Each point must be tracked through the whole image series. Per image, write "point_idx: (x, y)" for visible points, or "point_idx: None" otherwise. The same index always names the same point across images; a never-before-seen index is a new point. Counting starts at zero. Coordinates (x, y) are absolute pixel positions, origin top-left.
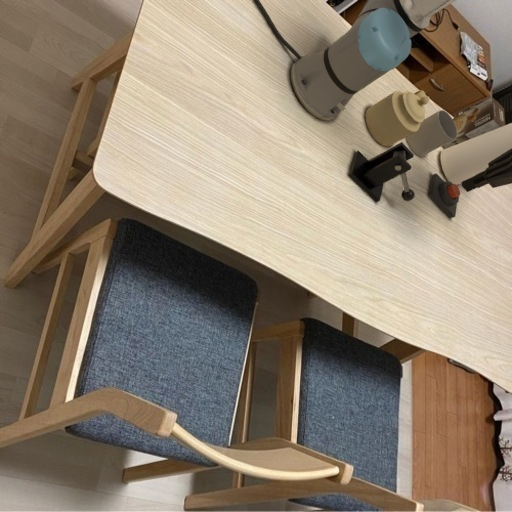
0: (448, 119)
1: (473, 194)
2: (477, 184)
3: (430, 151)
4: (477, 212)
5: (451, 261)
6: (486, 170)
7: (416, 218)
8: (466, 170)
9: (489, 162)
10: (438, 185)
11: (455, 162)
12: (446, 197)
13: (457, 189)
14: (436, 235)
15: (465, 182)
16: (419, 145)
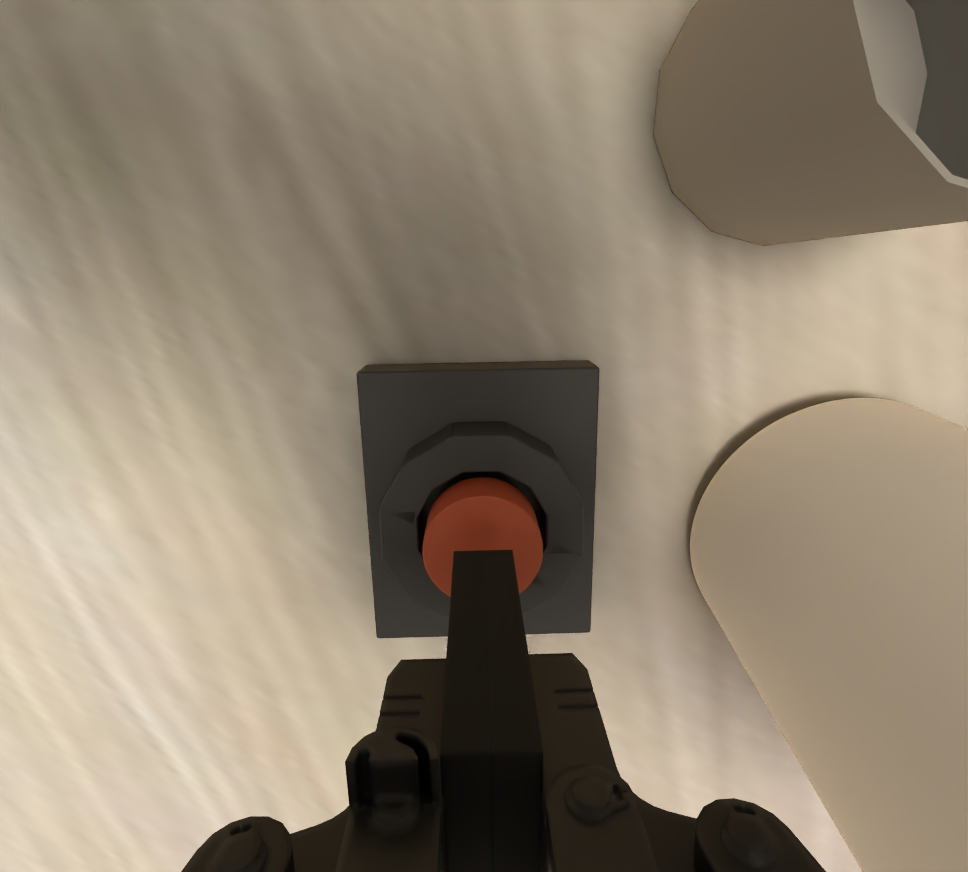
0: None
1: (789, 784)
2: (384, 696)
3: (732, 208)
4: None
5: (68, 679)
6: (562, 787)
7: (53, 290)
8: (768, 611)
9: (777, 827)
10: (493, 415)
11: (802, 490)
12: (387, 491)
13: None
14: (122, 516)
15: (475, 573)
16: (687, 46)
